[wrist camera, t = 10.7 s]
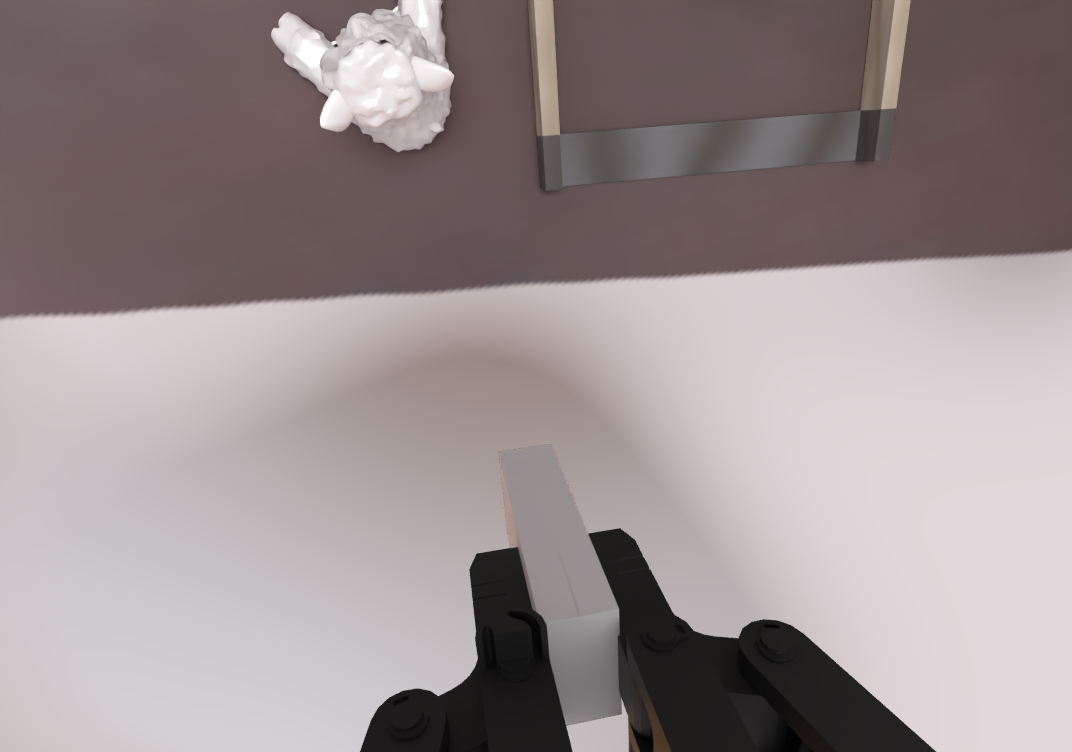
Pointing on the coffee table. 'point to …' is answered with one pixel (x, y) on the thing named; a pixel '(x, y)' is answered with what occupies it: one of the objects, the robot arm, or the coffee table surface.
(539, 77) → the square frame
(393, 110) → the white creature statuette
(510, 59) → the coffee table surface
